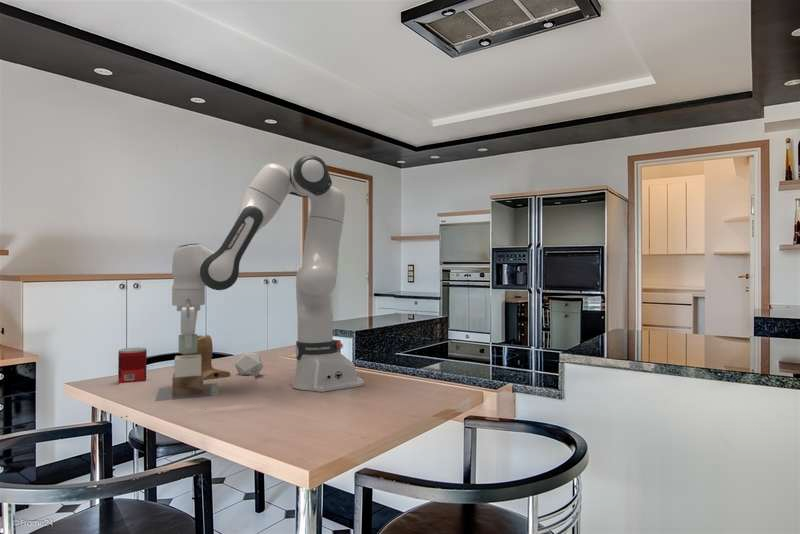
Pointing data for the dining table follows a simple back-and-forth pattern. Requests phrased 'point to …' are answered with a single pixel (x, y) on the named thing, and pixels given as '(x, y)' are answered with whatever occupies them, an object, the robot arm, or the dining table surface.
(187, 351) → the sage cylinder
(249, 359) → the die
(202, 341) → the tan boot
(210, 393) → the slate coaster
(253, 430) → the dining table surface
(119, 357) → the red box
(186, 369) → the cream block
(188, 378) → the walnut block
